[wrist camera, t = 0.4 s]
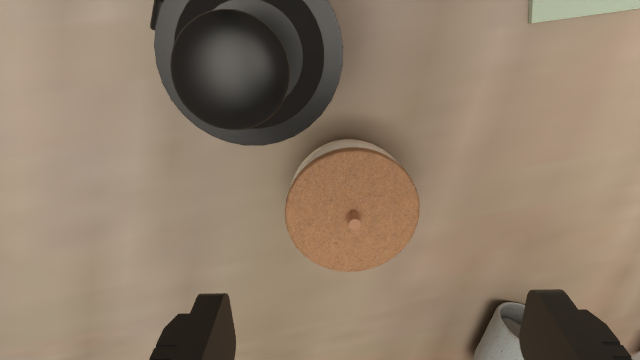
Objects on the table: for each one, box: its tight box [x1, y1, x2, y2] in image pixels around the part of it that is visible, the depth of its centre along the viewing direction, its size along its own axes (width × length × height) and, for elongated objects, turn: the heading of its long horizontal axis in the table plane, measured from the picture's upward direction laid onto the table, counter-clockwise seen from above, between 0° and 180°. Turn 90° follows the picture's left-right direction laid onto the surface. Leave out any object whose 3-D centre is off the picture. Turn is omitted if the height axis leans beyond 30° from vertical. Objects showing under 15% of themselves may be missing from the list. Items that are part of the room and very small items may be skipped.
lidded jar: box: [285, 139, 419, 272], centre depth 37 cm, size 11×11×9 cm
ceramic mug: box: [473, 302, 525, 360], centre depth 45 cm, size 11×8×8 cm
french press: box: [150, 0, 343, 145], centre depth 25 cm, size 12×9×23 cm
